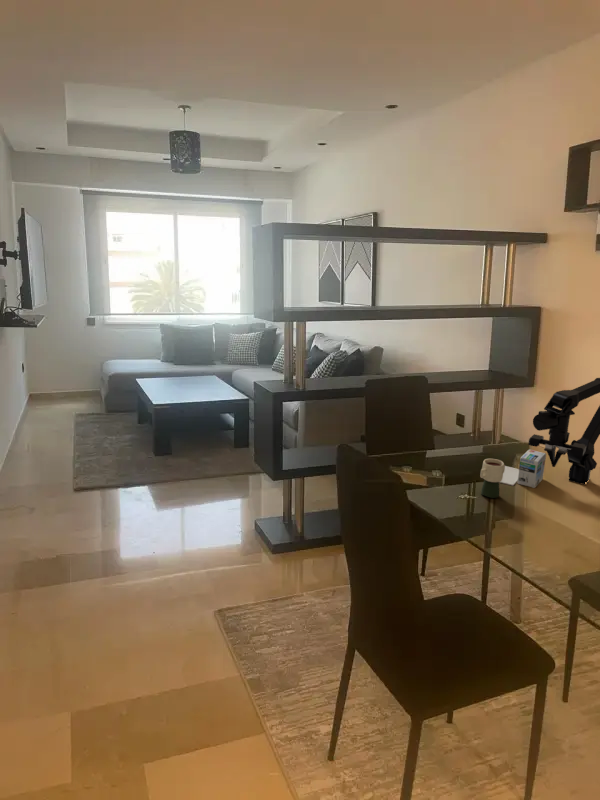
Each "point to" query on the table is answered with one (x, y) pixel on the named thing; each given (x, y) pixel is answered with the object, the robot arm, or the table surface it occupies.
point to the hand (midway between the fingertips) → (553, 466)
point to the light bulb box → (531, 468)
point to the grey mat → (510, 476)
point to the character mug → (491, 477)
